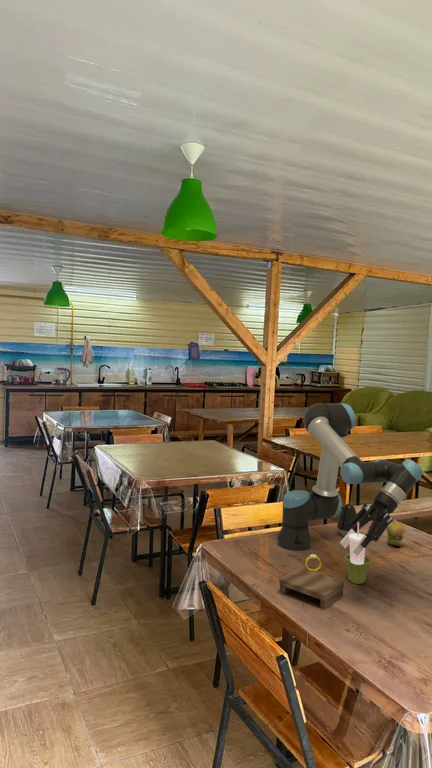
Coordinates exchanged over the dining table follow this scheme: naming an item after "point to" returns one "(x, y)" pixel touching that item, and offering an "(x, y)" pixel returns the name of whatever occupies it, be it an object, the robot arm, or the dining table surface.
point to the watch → (313, 558)
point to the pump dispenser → (345, 518)
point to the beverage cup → (353, 541)
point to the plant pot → (357, 570)
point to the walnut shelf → (313, 586)
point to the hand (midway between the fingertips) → (348, 549)
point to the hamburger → (395, 533)
